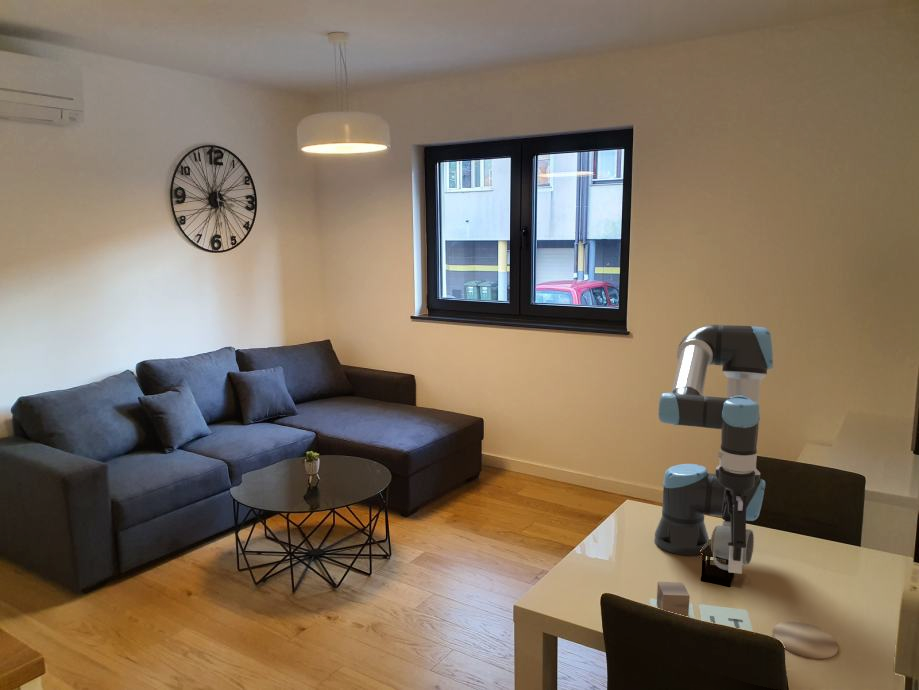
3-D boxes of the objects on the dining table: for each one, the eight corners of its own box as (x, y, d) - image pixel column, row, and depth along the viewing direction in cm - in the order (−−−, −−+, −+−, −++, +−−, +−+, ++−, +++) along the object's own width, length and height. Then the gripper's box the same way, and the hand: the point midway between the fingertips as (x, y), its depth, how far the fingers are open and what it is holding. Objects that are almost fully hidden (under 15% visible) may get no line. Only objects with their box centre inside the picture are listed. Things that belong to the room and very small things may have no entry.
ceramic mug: (716, 547, 161) (718, 517, 159) (753, 556, 156) (755, 525, 155) (704, 566, 152) (706, 534, 151) (742, 576, 148) (744, 543, 146)
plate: (649, 598, 168) (649, 598, 168) (692, 603, 165) (692, 603, 165) (651, 621, 158) (651, 620, 158) (696, 626, 156) (696, 626, 156)
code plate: (698, 604, 165) (698, 603, 165) (746, 610, 162) (746, 609, 162) (704, 637, 152) (704, 637, 152) (757, 644, 149) (757, 643, 149)
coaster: (767, 620, 158) (767, 618, 158) (828, 628, 155) (828, 625, 155) (779, 654, 146) (779, 651, 146) (846, 662, 143) (846, 660, 143)
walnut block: (656, 604, 165) (657, 581, 164) (681, 605, 164) (682, 582, 163) (662, 618, 159) (663, 594, 158) (688, 619, 159) (689, 595, 158)
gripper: (712, 450, 163) (707, 535, 167) (726, 486, 140) (720, 583, 144) (746, 452, 161) (740, 538, 165) (765, 489, 139) (758, 587, 142)
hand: (730, 559), depth 154 cm, fingers closed on ceramic mug, 11 cm apart
